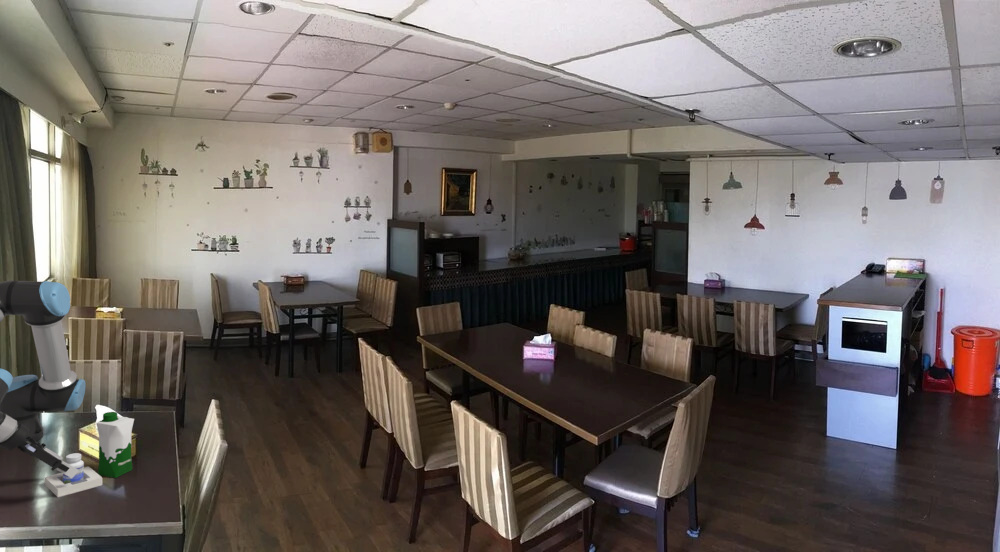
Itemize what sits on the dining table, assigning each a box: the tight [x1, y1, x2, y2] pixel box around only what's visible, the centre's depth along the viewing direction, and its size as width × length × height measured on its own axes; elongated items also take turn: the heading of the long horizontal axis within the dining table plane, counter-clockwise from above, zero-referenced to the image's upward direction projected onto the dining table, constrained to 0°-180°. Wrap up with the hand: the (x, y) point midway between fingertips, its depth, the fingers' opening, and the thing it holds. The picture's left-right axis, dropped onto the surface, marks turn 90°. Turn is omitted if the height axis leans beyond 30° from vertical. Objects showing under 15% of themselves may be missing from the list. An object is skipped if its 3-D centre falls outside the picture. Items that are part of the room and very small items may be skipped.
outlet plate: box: [44, 466, 103, 498], centre depth 192 cm, size 12×12×3 cm
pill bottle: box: [63, 452, 85, 484], centre depth 192 cm, size 5×5×10 cm
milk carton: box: [95, 411, 135, 479], centre depth 202 cm, size 9×9×20 cm
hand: (67, 467), depth 190 cm, fingers open, 13 cm apart
